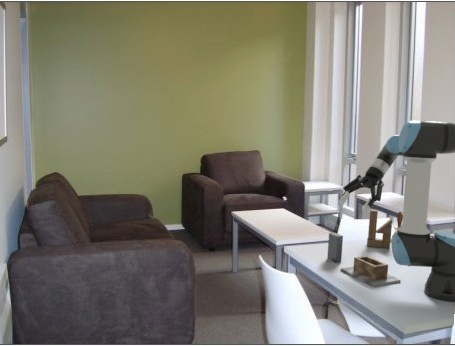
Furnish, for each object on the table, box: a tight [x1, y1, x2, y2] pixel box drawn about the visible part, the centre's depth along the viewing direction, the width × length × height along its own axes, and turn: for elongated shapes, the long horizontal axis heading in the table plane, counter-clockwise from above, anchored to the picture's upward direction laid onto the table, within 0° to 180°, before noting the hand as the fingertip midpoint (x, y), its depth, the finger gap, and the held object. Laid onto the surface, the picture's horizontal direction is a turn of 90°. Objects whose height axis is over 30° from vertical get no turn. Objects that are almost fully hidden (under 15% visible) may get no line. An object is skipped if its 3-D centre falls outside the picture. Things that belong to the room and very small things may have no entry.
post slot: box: [340, 255, 402, 288], centre depth 214 cm, size 20×14×6 cm
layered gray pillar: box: [326, 232, 344, 264], centre depth 233 cm, size 6×3×12 cm, turn 27°
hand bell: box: [390, 211, 403, 243], centre depth 265 cm, size 8×8×16 cm
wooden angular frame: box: [366, 209, 393, 249], centre depth 257 cm, size 4×11×18 cm, turn 78°
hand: (351, 207), depth 233 cm, fingers open, 13 cm apart
